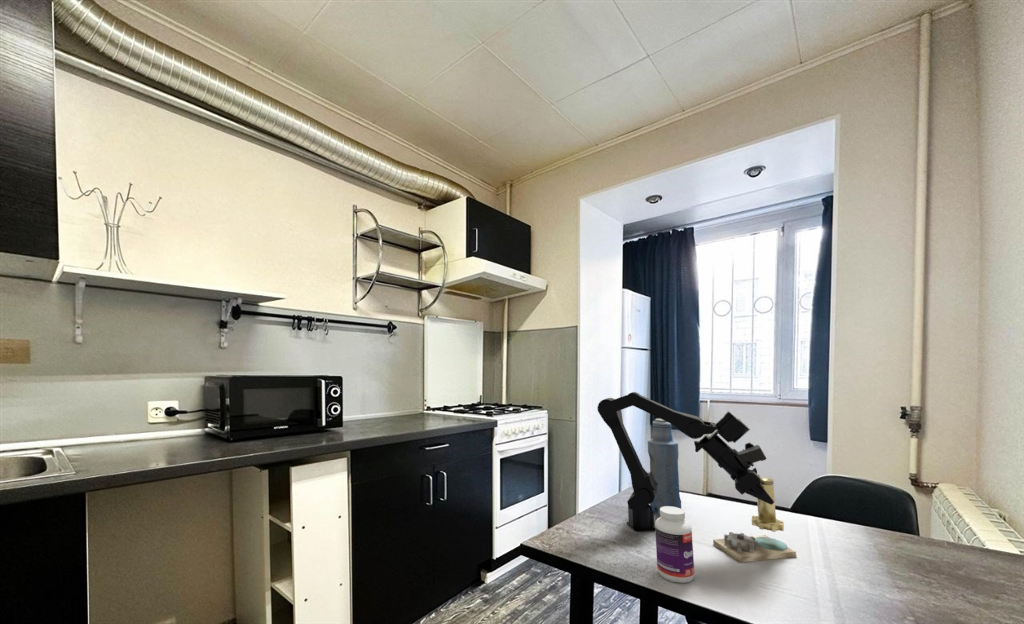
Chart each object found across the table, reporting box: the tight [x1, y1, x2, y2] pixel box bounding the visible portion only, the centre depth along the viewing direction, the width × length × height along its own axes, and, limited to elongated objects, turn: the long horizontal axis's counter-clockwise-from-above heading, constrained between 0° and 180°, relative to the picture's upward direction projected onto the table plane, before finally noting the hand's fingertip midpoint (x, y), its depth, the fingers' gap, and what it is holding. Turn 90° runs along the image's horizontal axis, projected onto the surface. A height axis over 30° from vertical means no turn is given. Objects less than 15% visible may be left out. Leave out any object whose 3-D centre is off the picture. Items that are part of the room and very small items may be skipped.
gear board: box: [712, 531, 797, 563], centre depth 105 cm, size 17×10×4 cm, turn 99°
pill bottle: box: [654, 506, 695, 584], centre depth 94 cm, size 8×8×14 cm
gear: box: [751, 476, 785, 533], centre depth 107 cm, size 7×7×12 cm
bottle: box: [647, 418, 682, 516], centre depth 134 cm, size 10×10×30 cm
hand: (771, 500), depth 107 cm, fingers closed on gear, 4 cm apart
